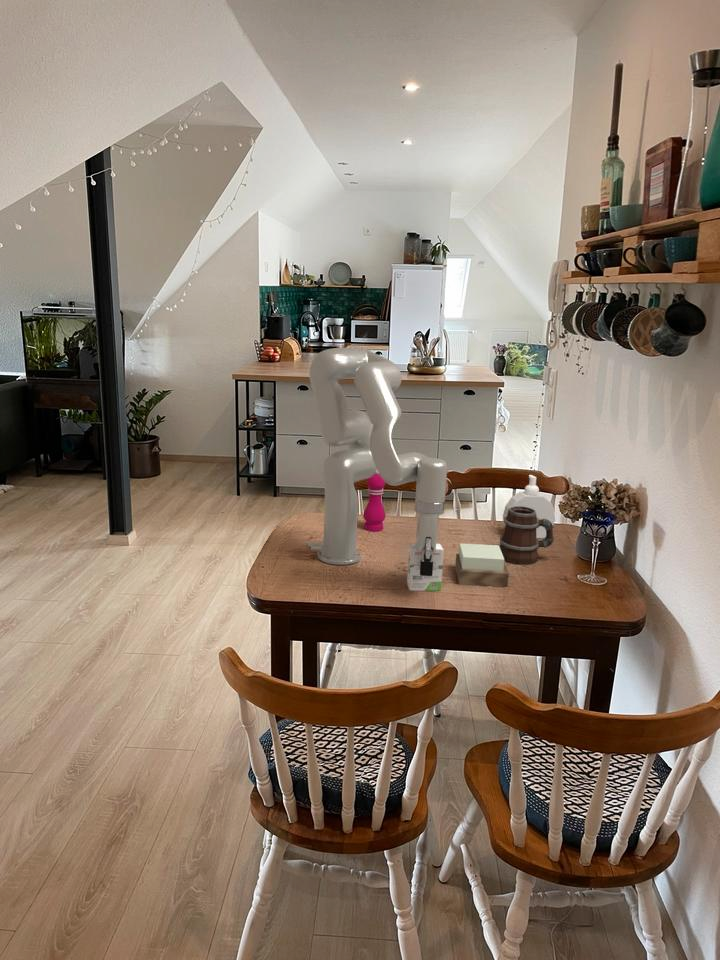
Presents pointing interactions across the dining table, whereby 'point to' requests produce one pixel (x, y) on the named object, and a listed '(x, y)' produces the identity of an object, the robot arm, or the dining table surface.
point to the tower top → (481, 557)
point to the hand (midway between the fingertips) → (425, 568)
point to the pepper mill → (374, 504)
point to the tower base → (481, 576)
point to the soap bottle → (533, 505)
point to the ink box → (414, 577)
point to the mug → (523, 535)
